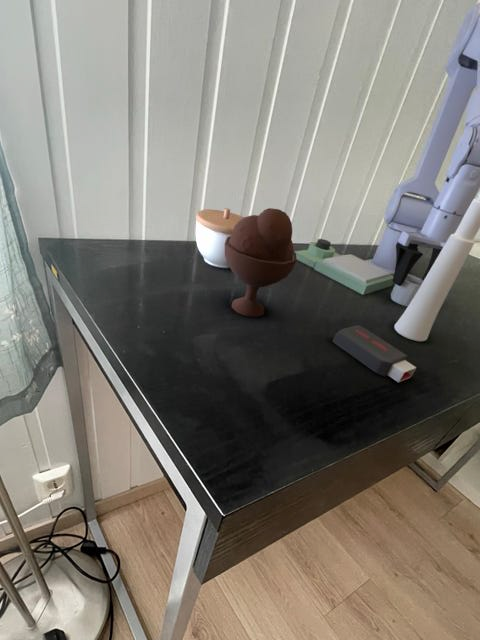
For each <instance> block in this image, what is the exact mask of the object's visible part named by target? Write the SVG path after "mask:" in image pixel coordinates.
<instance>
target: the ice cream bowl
mask: <svg viewBox="0 0 480 640" xmlns="http://www.w3.org/2000/svg"><path fill="white" fill-rule="evenodd" d="M243 217H244V218H243V219H241V220H240V221H238V223H237V224H236V225H235V226H234V229H233V232H232V235H231V236H230V237H227V239H226V241H225V257H226V261H227V264H228V266H229V267H230V268H229V269H230V270H231V272H232V273H233V274H234V275H235V276H236V277H237V278H238V280H240V281H241V282H242V283H244V284H245V285H246V291H245V296H242V297H238V298H235V299H234V300H233V301H232V303H231V308H232V309H233V310H234V311H235V312H236V313H237V314H240V315H242V316H246V317H256V318H258V317H261V316H263V315H265V314H264V313H265V306H264V305H263V304H262V303H261V302H259V300H258V299H257V294H258V291H259V289H260V288H264V287H268V286H272V285H274V284H278V283H279V282H281V281H283V280H284V279H286V278H287V277H288V276H289V275H290V274H291V272H292V271H293V269H294V267H295V265H296V264H297V261H298V260H297V259H296V253H295V251H294V243H293V240H292V237H293V223H292V220H291V218H290V217H289V215H288V214H287V213H286V212H285V211H283V210H281V209H279V208H273V207H272V208H271V207H269V208H265V209H264V210H263V211H262V212H260V213H259V215H258V214H257V215H256V214H251V215H249V216H248V215H247V216H243Z"/></svg>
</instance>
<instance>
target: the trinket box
mask: <svg viewBox="0 0 480 640" xmlns="http://www.w3.org/2000/svg"><path fill="white" fill-rule="evenodd" d="M244 217H245V216H243V215H239V214H236V213H233V212H231V209H230V208H228V207H225V208H224V210H219V209H202V210H201V209H200V210H199V211H197V213H196V217H195V220H196V223H195V241H196V242H195V243H196V246H197V249H198V251H199V253H200V255H201V256H202V257H203V260H204V262H205V263H207V264H208V265H211V266H213V267H216V268H221V269H222V268H223V269H230V267H229V266H228V264H227V261H226V257H225V241H226V239H227V237H230V236H231V235H232V232H233V229H234V226H235V225H236V224H237V223H238V221H240V220H241V219H243V218H244Z"/></svg>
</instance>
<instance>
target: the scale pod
mask: <svg viewBox="0 0 480 640" xmlns="http://www.w3.org/2000/svg"><path fill="white" fill-rule="evenodd" d="M316 244H317V241H311V242H310V243H309V245H308V248H307V249H302V250H296V251H294V252H295V253H296V259H297V261H299V262H301V263H302V264H305V265H307V266H309V267H310V268H313V269H314V267H315V264H316V261H317V260H322V259H326V258H332V257H337V256H343V255H342V254H340V253H338V252H336V249H335V247H333V246H332V245H330V247H329V250H324V249H320V248H318V247H316Z"/></svg>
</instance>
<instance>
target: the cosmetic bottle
mask: <svg viewBox="0 0 480 640" xmlns="http://www.w3.org/2000/svg"><path fill="white" fill-rule="evenodd" d="M479 231H480V191H478V193H477V197H475V198H474V199H473V201H472V202H471V204H470V206H469V208H468V210H467V212H466V213H465V215H464V217H463V219H462V221H461V223H460V225H459V226H458V228H457V230H456V232H455V234H451V235H450V237H449V239H448V240H447V242H446V244H445V245H444V247H443V249H442V250H441V252H440V254H439V255H438V257H437V259H436V261H435V262H434V264H433V266H432V267H431V269H430V271H429V273H428V274H427V276H426V278H425V279H424V281H423V283H422V285H421V286H420V288H419V290H418V291H417V293H416V295H415V296H414V298H413V299H412V301H411V303H410V304H409V306H408V307H407V306H406V308H405V310H404V312H403V313H402V315H401V316H400V317H399V319H398V320H397V321H396V323H394V325H393V326H394V327H393V328H394V330H395V332H396V333H397V334H399V335H400V336H402V337H403V338H406V339H408V340H411V341H415V342H426V341H427V340H428V338H429V335H430V332H431V330H432V328H433V326H434V323H435V321H436V319H437V317H438V314H439V312H440V310H441V308H442V306H443V304H444V302H445V300H446V299H447V297H448V294H449V292H450V291H451V289H452V287H453V285H454V284H455V282H456V279H457V277H458V276H459V274H460V272H461V270H462V268H463V266H464V264H465V263H466V261H467V258H469V257H468V256H469V255H470V253H471V251H472V249H473V247H474V245H475V242H476V241H475V240H474V239H475V237H476V235H477V234H478V232H479Z"/></svg>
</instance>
